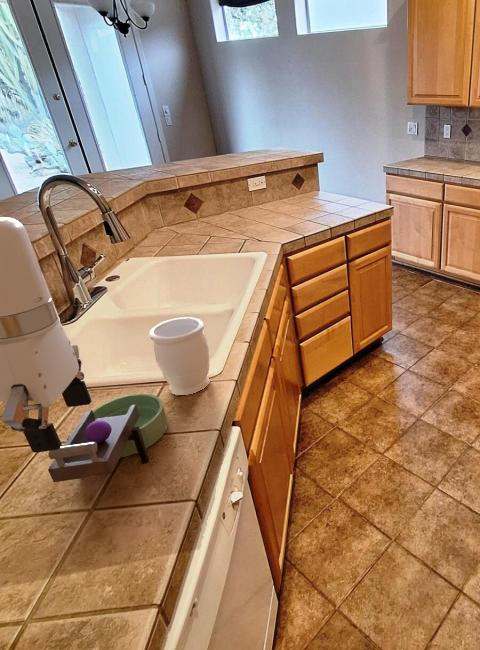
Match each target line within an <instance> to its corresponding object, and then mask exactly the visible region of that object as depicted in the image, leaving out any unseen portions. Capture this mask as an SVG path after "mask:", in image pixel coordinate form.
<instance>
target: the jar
mask: <svg viewBox="0 0 480 650" xmlns="http://www.w3.org/2000/svg"><path fill="white" fill-rule="evenodd" d="M204 323H205V322H204V321H203V320H202V319H201V318H199V317H193V316H182V317H174V318H171V319H167V320H164V321H162V322H160V323H158V324H156V325H154V326H153V327H151V329H150V330H149V333H148V335H149V338H150V340H152V341H153V354H154V359H155V362H156V364H157V366H158V368H159V371H160V372H161V374H162V377H163V378H164V380H165V381H166V382H167V384H169V392H170V393H171V394H173V395H174V394H175V396H178V395H186V396H189V395H188V394H192V395H194V394H193V393H195V394H197V393H196V392H198V391H200V390H202V389H203V390H205V389H206V388H207V387H208V386H209V385H210V383H211V378H210V379H209V378H208V377H207V375H208V376H209V372H210V345H209V343H208V339H207V337H206V334H205V332H204V330H205V329H204V328H205V324H204ZM209 382H210V383H209ZM208 384H209V385H208ZM207 385H208V386H207ZM206 386H207V387H206ZM205 387H206V388H205ZM204 388H205V389H204ZM203 390H202V391H203ZM200 392H201V391H200ZM198 393H199V392H198Z"/></svg>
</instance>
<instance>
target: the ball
mask: <svg viewBox="0 0 480 650" xmlns="http://www.w3.org/2000/svg"><path fill="white" fill-rule="evenodd" d="M110 434H111V426H110V424H109V423H108V422H106V421H102V420H99V421H94V422H92V423H91V424H89V425H88V426H87V428H86V430H85V437H86V439H87V440H88V441H90V442H96V443H100V442H103V441H105V440H106V439H107V438H108V437H109V436H110Z"/></svg>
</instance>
